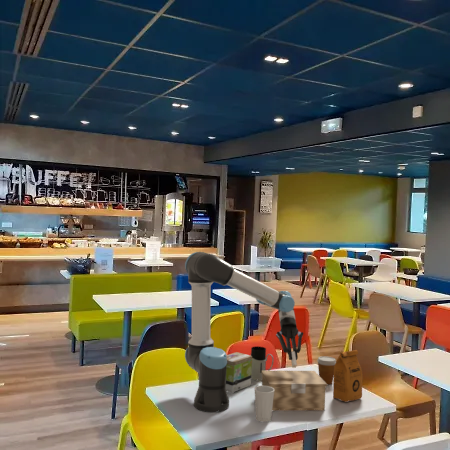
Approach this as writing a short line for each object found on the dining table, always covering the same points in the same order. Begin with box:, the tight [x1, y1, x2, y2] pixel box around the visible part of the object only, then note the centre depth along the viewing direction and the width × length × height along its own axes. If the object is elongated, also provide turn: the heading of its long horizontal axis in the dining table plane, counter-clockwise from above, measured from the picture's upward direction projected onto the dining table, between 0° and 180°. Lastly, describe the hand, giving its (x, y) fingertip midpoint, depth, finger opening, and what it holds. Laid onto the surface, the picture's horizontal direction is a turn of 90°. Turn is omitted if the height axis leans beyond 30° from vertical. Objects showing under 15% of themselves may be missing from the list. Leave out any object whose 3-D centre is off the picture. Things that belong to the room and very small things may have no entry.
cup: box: [254, 385, 274, 423], centre depth 190 cm, size 8×8×12 cm
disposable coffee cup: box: [316, 355, 337, 385], centre depth 237 cm, size 10×10×12 cm
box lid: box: [261, 370, 328, 393], centre depth 208 cm, size 25×19×4 cm
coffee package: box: [332, 349, 364, 403], centre depth 215 cm, size 10×12×22 cm
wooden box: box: [261, 375, 326, 412], centre depth 208 cm, size 24×18×10 cm
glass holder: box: [250, 345, 274, 381], centre depth 238 cm, size 9×14×15 cm, turn 44°
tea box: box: [226, 351, 252, 394], centre depth 225 cm, size 15×10×15 cm, turn 143°
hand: (294, 366), depth 209 cm, fingers closed
